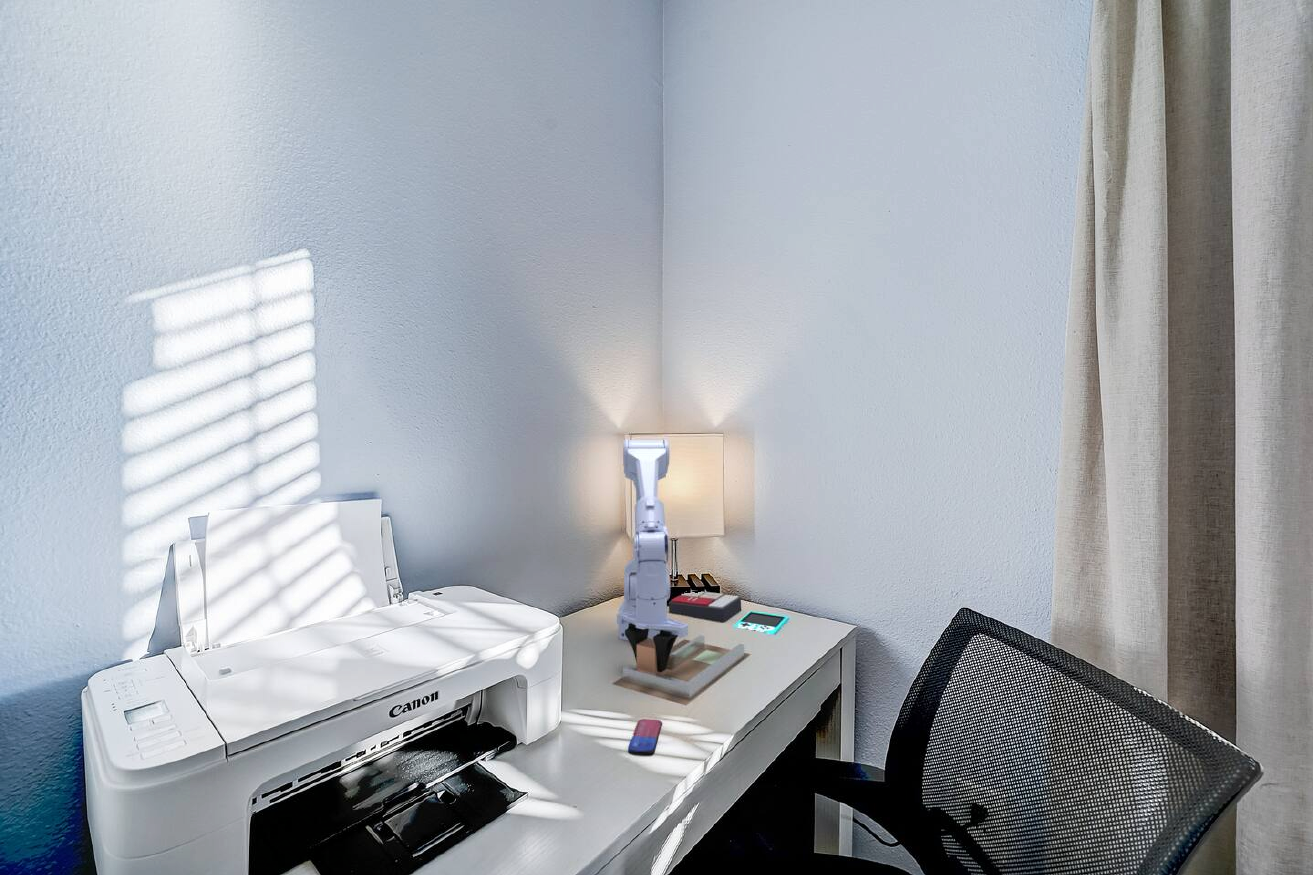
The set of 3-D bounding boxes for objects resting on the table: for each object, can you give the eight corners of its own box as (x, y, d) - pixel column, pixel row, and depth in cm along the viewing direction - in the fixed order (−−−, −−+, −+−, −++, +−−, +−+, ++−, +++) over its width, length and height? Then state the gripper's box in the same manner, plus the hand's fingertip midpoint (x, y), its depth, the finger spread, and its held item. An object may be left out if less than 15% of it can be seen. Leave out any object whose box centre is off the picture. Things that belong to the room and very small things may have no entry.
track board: (612, 689, 115) (611, 683, 115) (684, 643, 137) (684, 638, 137) (686, 710, 107) (686, 704, 107) (750, 658, 128) (750, 653, 128)
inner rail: (649, 664, 124) (649, 651, 124) (683, 643, 135) (683, 631, 134) (671, 669, 121) (671, 656, 121) (704, 647, 132) (704, 635, 132)
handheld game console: (726, 635, 143) (726, 629, 143) (749, 614, 157) (749, 609, 157) (769, 643, 139) (769, 637, 138) (789, 621, 153) (789, 615, 153)
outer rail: (622, 680, 116) (622, 667, 116) (683, 643, 135) (683, 631, 134) (689, 699, 109) (689, 685, 108) (744, 656, 127) (744, 644, 127)
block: (636, 676, 118) (636, 644, 118) (648, 668, 121) (648, 637, 121) (654, 681, 116) (654, 648, 116) (666, 673, 119) (666, 641, 119)
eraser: (639, 725, 103) (639, 714, 103) (664, 727, 102) (664, 716, 102) (625, 761, 91) (625, 749, 91) (653, 763, 91) (653, 751, 91)
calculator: (688, 588, 167) (741, 594, 159) (689, 604, 167) (742, 611, 160) (667, 599, 158) (722, 605, 150) (668, 616, 158) (723, 623, 150)
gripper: (607, 594, 119) (607, 666, 119) (673, 607, 111) (673, 684, 111) (628, 585, 124) (629, 653, 125) (693, 597, 117) (693, 670, 117)
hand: (651, 667), depth 119 cm, fingers closed on block, 4 cm apart
